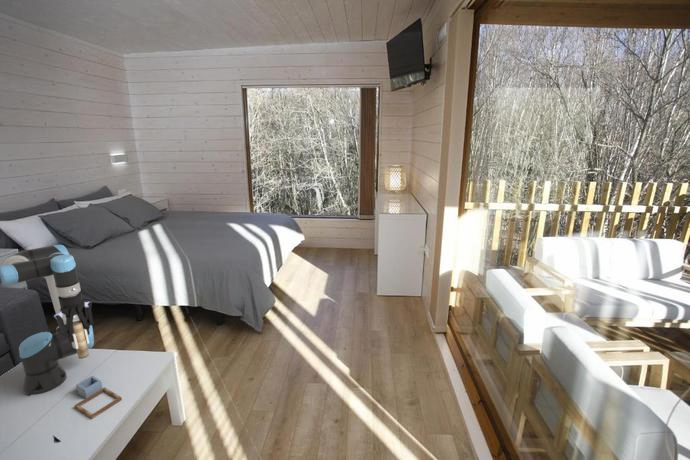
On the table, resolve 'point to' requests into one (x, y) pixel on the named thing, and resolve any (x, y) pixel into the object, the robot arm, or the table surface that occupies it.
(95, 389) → the blue grey open box
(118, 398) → the brown wooden frame
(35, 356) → the robot arm
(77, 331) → the pestle
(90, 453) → the table surface
